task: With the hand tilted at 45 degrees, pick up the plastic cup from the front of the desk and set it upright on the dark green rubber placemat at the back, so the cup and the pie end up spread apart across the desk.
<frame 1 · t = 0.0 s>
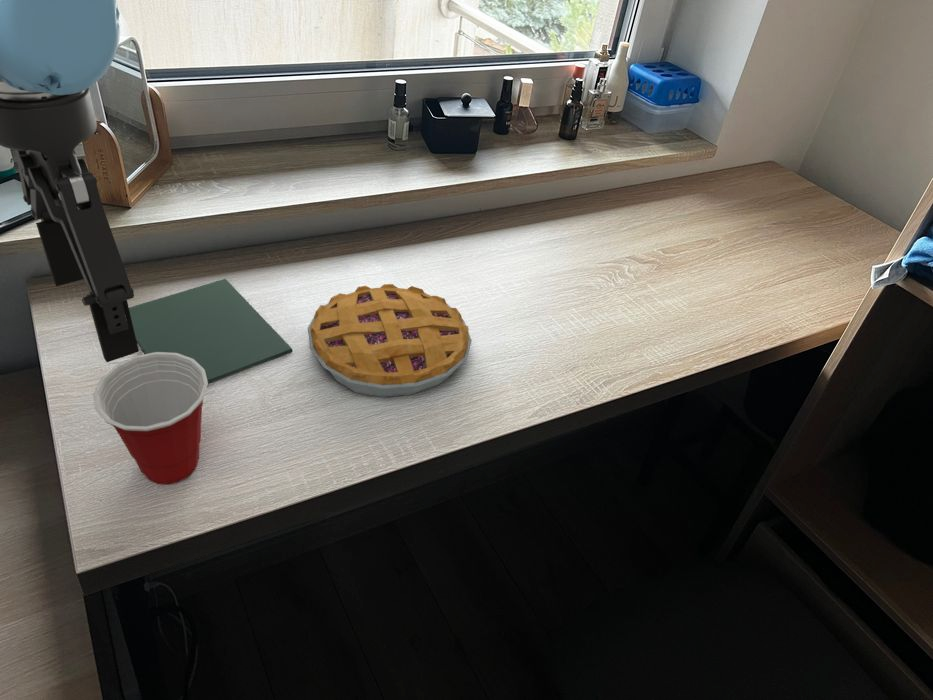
hand: (94, 316, 66), 21 cm above the table, tool pointing down, fingers open, 13 cm apart
pie: (389, 352, 99), on the table
plastic cup: (169, 467, 80), on the table
placemat: (203, 333, 99), on the table
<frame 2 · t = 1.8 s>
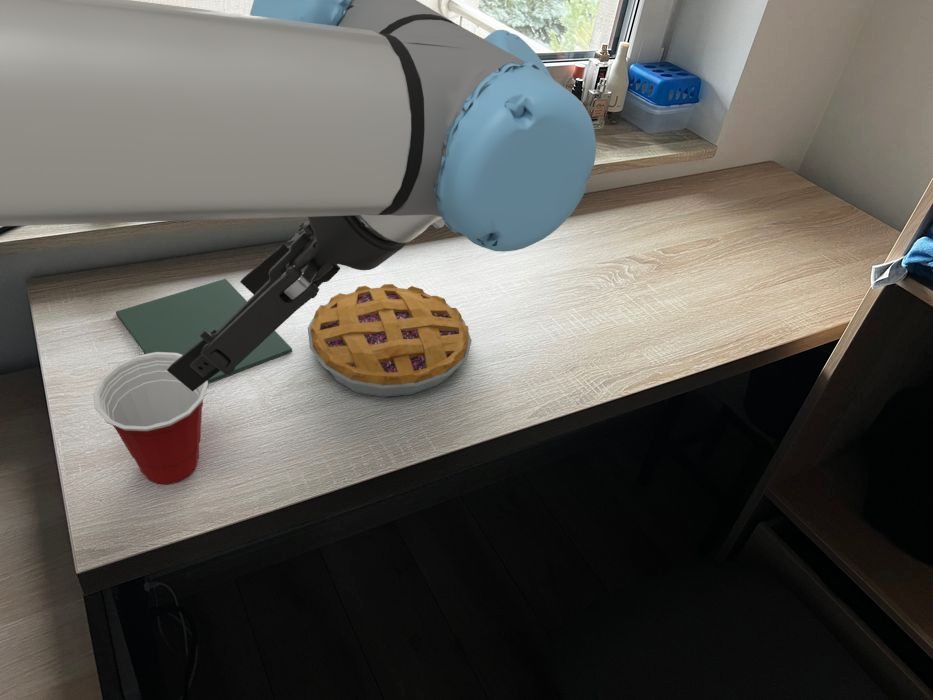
hand: (219, 330, 65), 22 cm above the table, tool tilted 45°, fingers open, 13 cm apart
nothing on the table moved.
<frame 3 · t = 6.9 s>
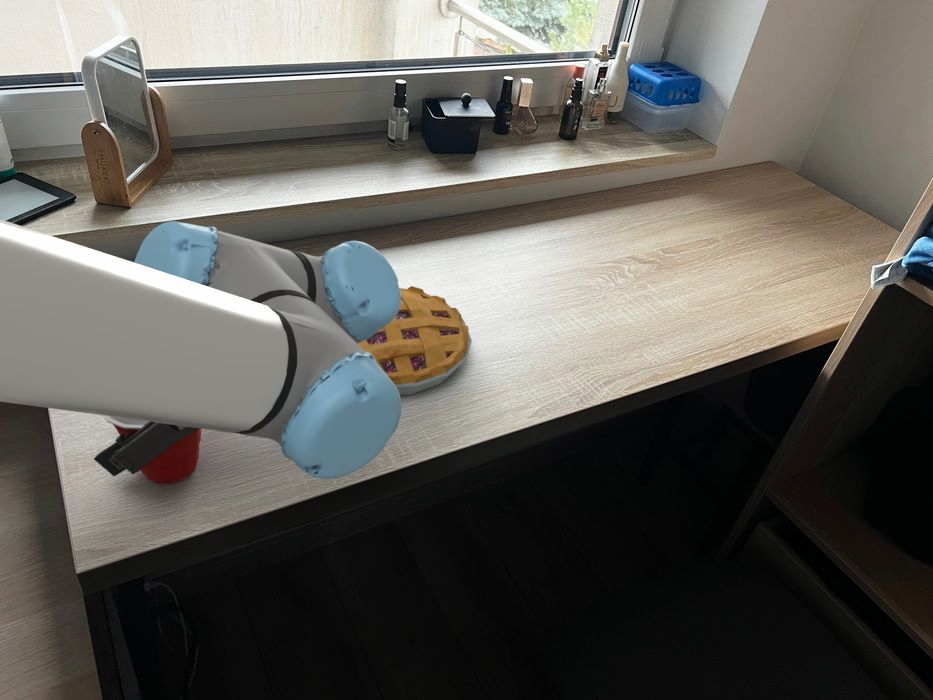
hand: (137, 431, 78), 4 cm above the table, tool tilted 45°, fingers closed on plastic cup, 10 cm apart
plastic cup: (169, 467, 80), on the table, touching gripper
everything else where it was.
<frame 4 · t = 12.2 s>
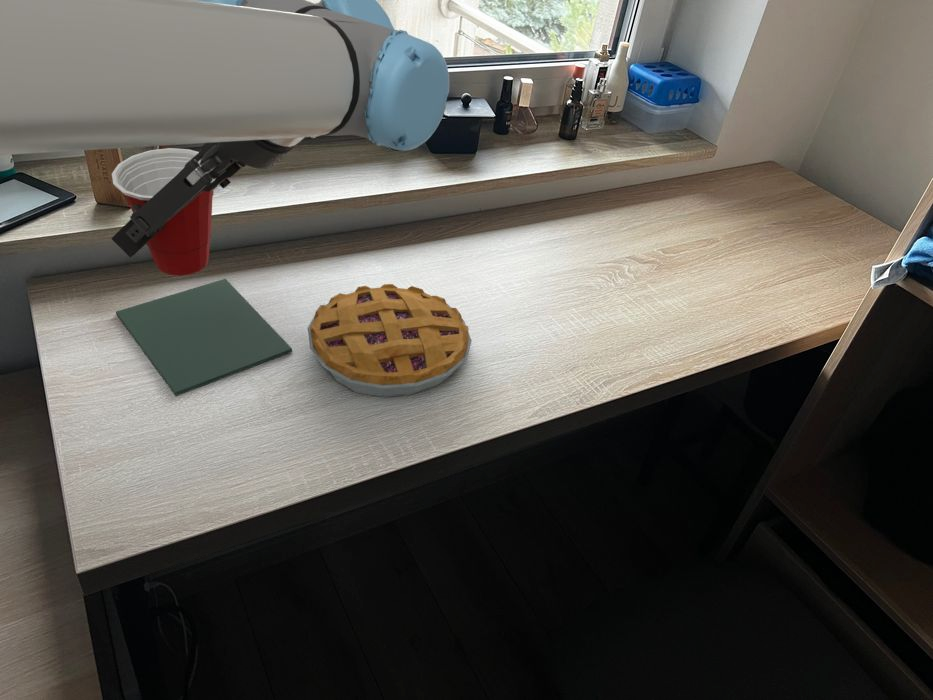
hand: (151, 225, 83), 19 cm above the table, tool tilted 45°, fingers closed on plastic cup, 10 cm apart
plastic cup: (182, 265, 85), point 15 cm above the table, touching gripper
everything else where it was.
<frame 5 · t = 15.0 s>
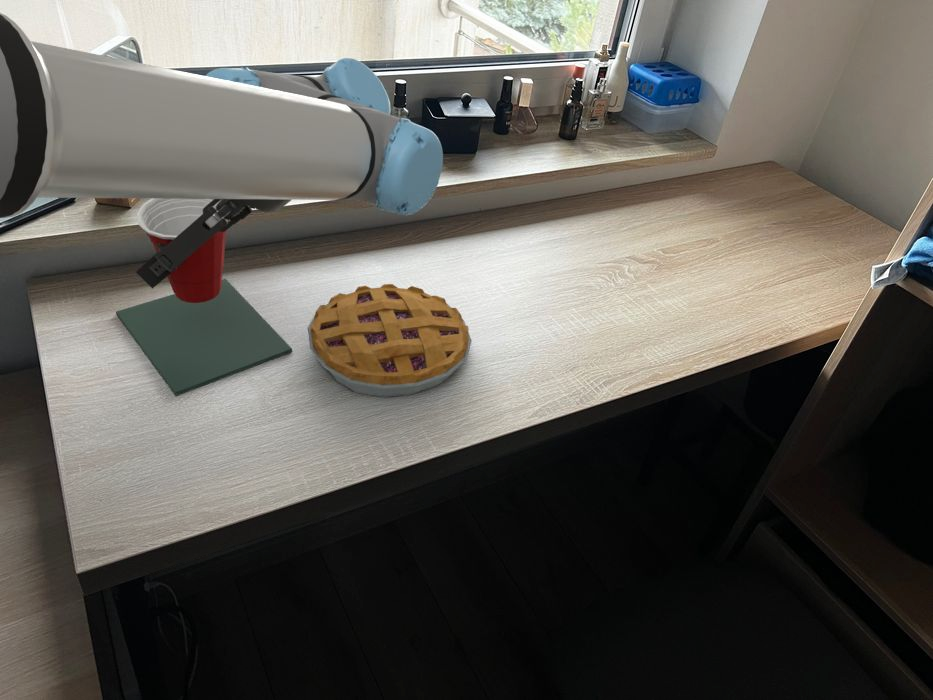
hand: (170, 258, 92), 11 cm above the table, tool tilted 45°, fingers closed on plastic cup, 10 cm apart
plastic cup: (197, 293, 95), point 7 cm above the table, touching gripper
everything else where it was.
when the fingers open (5 cm above the table, at t = 17.3 s): plastic cup stays where it is, resting on placemat.
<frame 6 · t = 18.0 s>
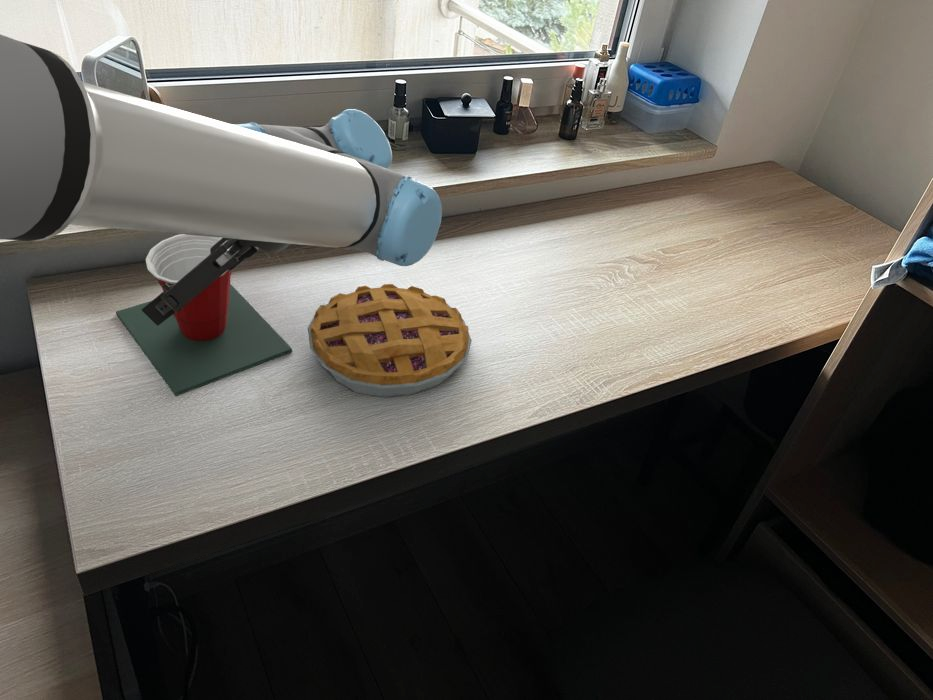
hand: (182, 288, 94), 7 cm above the table, tool tilted 45°, fingers open, 13 cm apart
plastic cup: (203, 330, 98), resting on placemat
everything else where it was.
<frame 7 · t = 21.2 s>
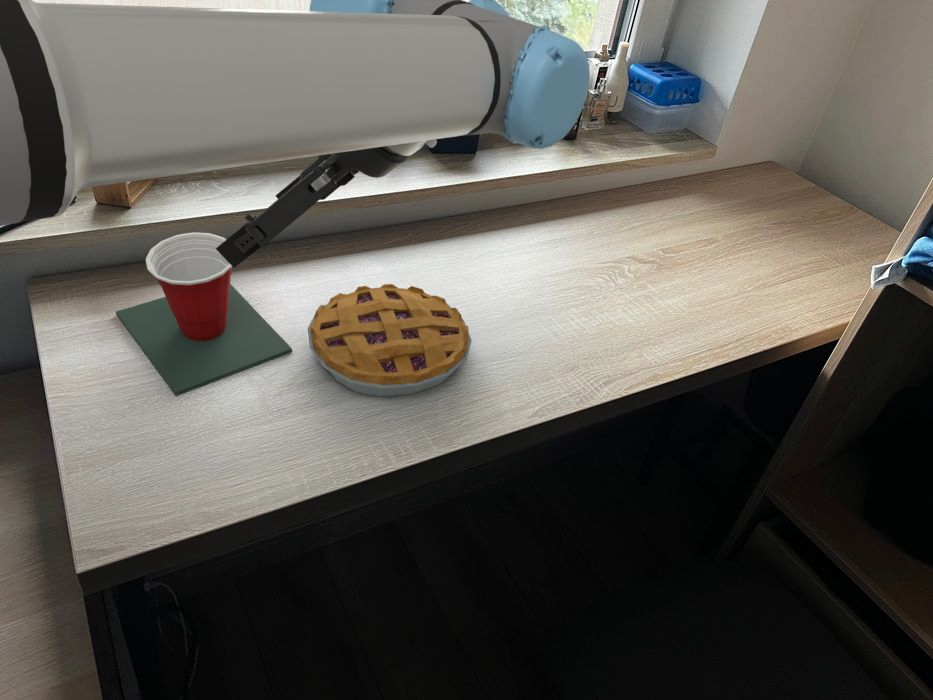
hand: (257, 228, 82), 20 cm above the table, tool tilted 45°, fingers open, 13 cm apart
nothing on the table moved.
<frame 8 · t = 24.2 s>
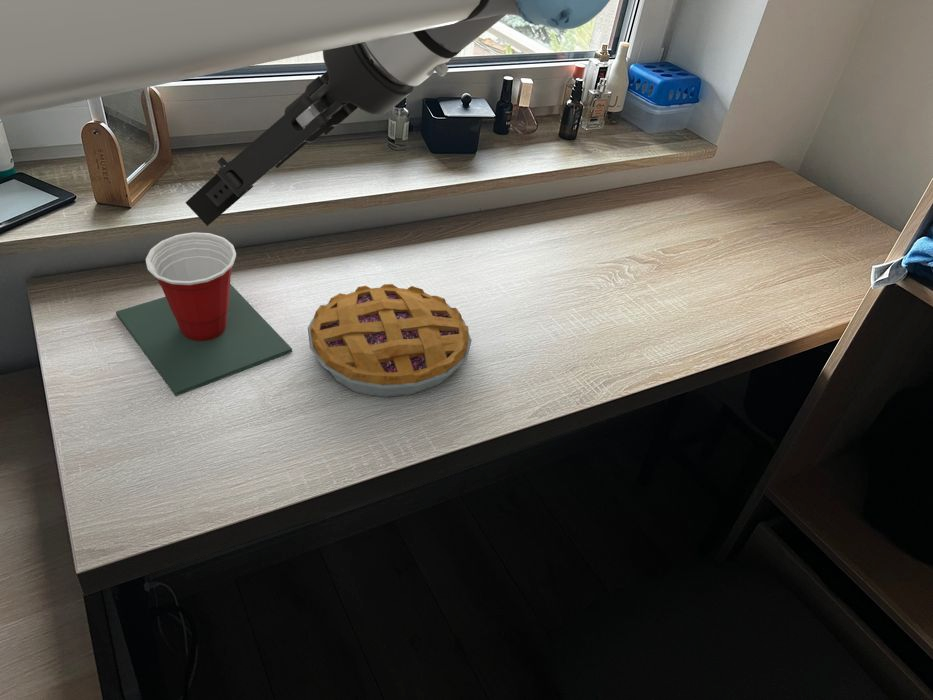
hand: (236, 182, 70), 30 cm above the table, tool tilted 45°, fingers open, 13 cm apart
nothing on the table moved.
at the end: plastic cup inside the target area on the placemat (0.1 cm from its centre), point 0.4 cm above the placemat's base; plastic cup tilted 0° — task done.
